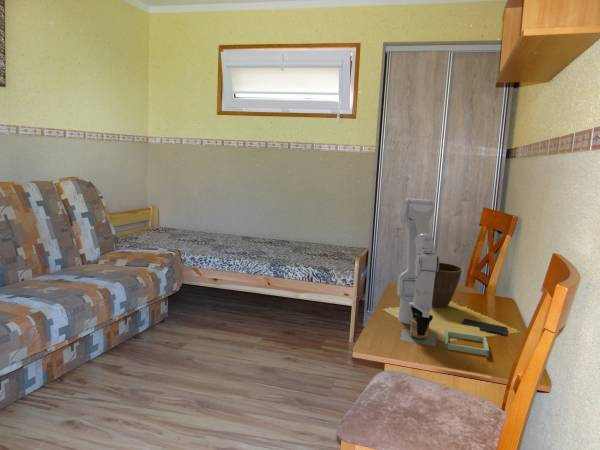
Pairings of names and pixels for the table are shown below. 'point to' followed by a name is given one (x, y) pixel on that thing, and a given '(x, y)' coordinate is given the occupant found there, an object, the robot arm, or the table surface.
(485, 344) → the sage tray
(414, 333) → the wood ring
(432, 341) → the stake board
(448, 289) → the plant pot
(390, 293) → the table surface
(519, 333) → the table surface
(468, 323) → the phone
